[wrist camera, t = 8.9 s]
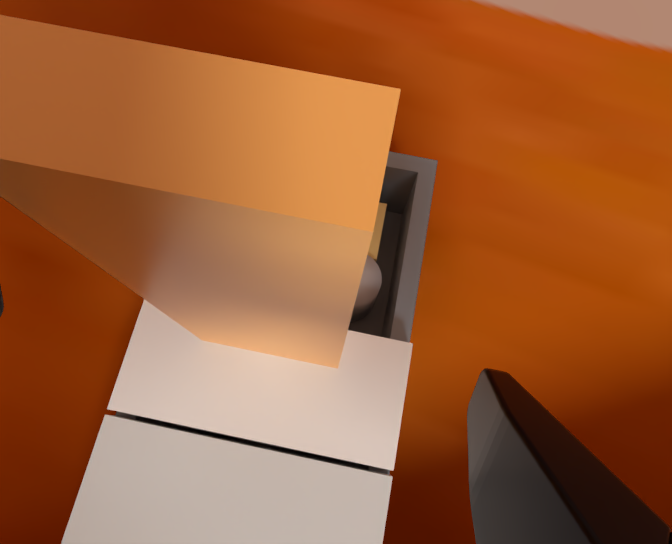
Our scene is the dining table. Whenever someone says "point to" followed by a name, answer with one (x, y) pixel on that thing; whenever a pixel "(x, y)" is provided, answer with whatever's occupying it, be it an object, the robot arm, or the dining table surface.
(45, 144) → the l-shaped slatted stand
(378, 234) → the gray open box
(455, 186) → the dining table surface
